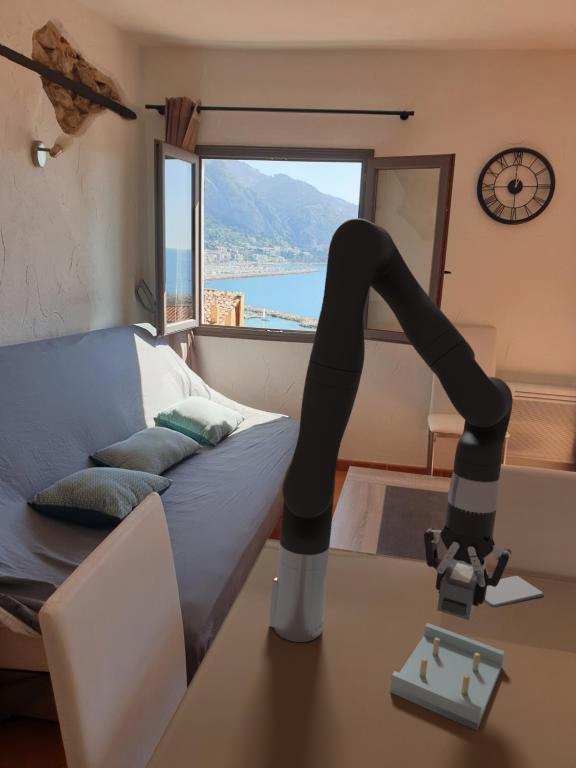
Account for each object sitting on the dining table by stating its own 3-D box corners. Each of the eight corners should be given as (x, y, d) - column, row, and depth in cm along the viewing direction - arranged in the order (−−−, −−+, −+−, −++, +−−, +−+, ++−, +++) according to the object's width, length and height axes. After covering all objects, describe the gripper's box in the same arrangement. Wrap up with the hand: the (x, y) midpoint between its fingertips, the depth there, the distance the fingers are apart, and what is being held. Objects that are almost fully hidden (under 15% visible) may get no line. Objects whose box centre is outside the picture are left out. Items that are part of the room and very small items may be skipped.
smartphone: (466, 585, 131) (516, 574, 137) (465, 589, 131) (516, 578, 137) (492, 605, 123) (545, 593, 129) (492, 609, 124) (544, 597, 130)
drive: (450, 583, 103) (453, 556, 102) (479, 591, 101) (483, 564, 100) (436, 611, 94) (440, 582, 93) (468, 621, 91) (472, 592, 90)
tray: (390, 692, 96) (392, 669, 95) (425, 638, 111) (427, 617, 110) (476, 730, 89) (480, 706, 88) (502, 667, 104) (505, 646, 103)
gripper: (523, 506, 94) (508, 603, 97) (435, 484, 101) (424, 575, 104) (514, 521, 87) (499, 624, 90) (421, 497, 94) (409, 593, 98)
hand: (459, 597), depth 97 cm, fingers closed on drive, 5 cm apart
